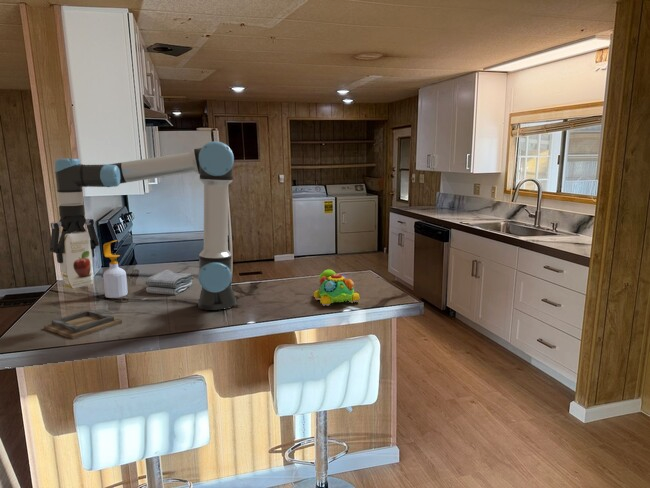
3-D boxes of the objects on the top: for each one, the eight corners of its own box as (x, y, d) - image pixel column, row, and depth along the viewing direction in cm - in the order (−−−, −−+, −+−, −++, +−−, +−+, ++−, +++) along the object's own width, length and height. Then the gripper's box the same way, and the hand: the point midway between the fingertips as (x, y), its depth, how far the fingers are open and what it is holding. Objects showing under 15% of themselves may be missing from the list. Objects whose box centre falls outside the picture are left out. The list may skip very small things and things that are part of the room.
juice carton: (60, 286, 157) (55, 232, 154) (85, 281, 164) (80, 229, 161) (72, 289, 153) (66, 234, 149) (96, 284, 160) (92, 231, 156)
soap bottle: (119, 299, 192) (114, 242, 188) (100, 297, 194) (95, 241, 190) (132, 293, 201) (127, 238, 197) (114, 291, 203) (109, 238, 199)
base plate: (122, 322, 164) (121, 315, 163) (73, 339, 149) (72, 331, 148) (93, 314, 173) (92, 307, 173) (44, 328, 158) (43, 321, 158)
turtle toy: (342, 290, 205) (342, 265, 203) (363, 305, 183) (364, 278, 181) (306, 294, 199) (306, 268, 197) (324, 310, 178) (324, 281, 176)
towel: (145, 294, 200) (143, 277, 198) (166, 283, 217) (165, 268, 216) (176, 296, 197) (175, 279, 196) (195, 285, 215) (194, 269, 213)
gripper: (94, 201, 164) (99, 262, 168) (32, 206, 146) (39, 274, 150) (107, 202, 160) (112, 264, 164) (44, 207, 142) (51, 277, 146)
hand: (77, 269), depth 157 cm, fingers closed on juice carton, 9 cm apart
